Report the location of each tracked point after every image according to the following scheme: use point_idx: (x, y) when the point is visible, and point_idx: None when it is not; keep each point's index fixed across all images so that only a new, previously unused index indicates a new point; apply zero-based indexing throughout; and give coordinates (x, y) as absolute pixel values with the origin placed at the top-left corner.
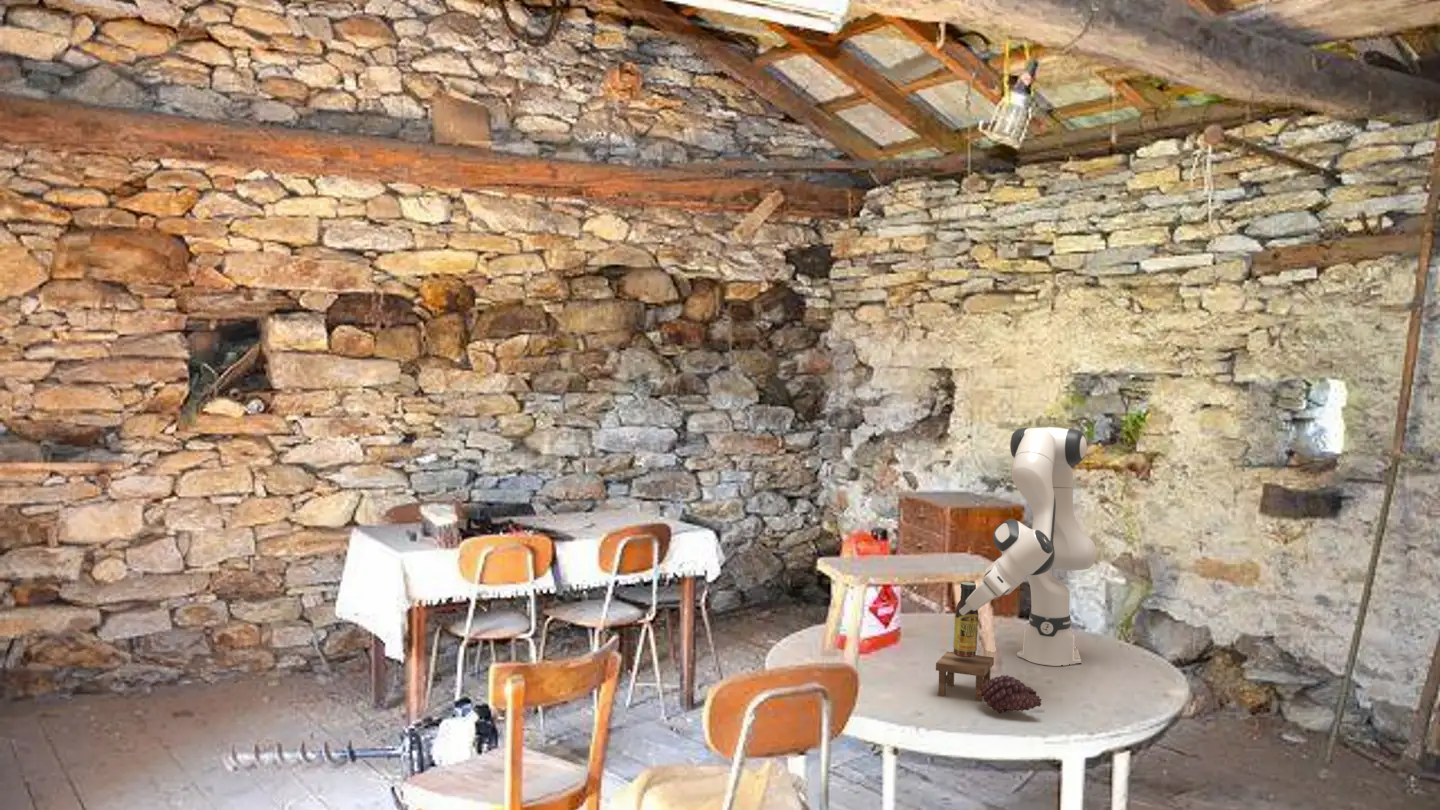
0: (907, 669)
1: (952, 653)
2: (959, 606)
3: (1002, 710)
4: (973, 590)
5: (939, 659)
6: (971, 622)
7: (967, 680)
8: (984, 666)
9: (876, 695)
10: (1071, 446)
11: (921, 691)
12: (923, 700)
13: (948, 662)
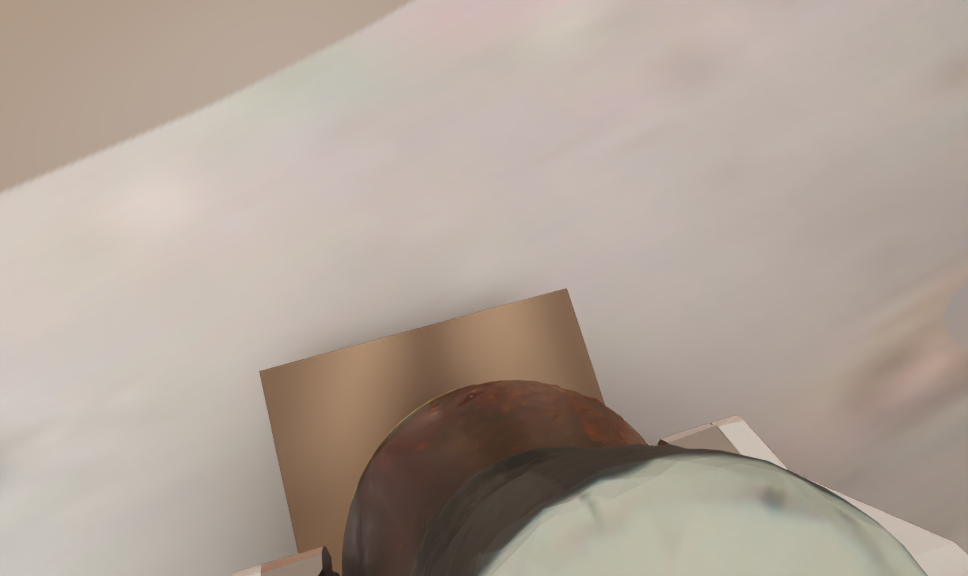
0: (589, 89)
1: (548, 338)
2: (385, 495)
3: None
4: None
5: (356, 345)
6: None
7: (644, 381)
8: None
9: (126, 174)
10: None
11: (326, 301)
12: (196, 381)
13: (330, 428)
